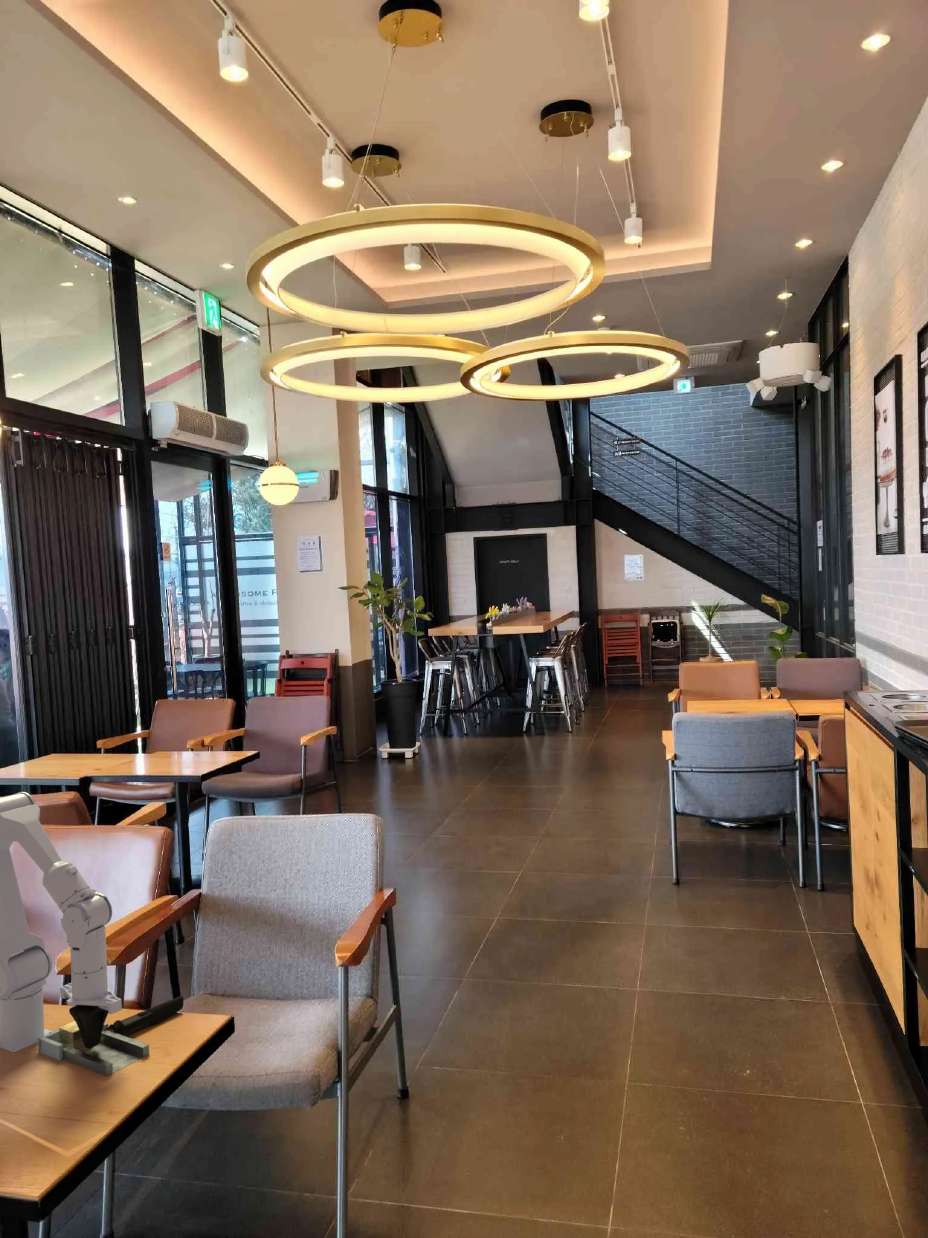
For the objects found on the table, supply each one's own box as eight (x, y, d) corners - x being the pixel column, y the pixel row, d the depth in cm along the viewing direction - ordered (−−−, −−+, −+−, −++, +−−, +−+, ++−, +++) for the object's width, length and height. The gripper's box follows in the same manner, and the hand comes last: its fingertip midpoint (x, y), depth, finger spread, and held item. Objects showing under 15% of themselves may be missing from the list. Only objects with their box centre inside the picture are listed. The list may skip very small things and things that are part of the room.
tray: (39, 1055, 156) (38, 1038, 156) (88, 1032, 164) (87, 1016, 164) (59, 1063, 152) (58, 1046, 152) (108, 1040, 160) (108, 1023, 160)
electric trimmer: (188, 1014, 170) (188, 997, 170) (114, 1045, 158) (114, 1027, 158) (176, 1009, 172) (176, 993, 172) (102, 1040, 160) (102, 1022, 160)
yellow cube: (59, 1047, 157) (58, 1027, 157) (80, 1038, 160) (79, 1018, 160) (73, 1053, 155) (72, 1032, 155) (93, 1043, 158) (93, 1023, 158)
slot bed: (62, 1062, 153) (62, 1049, 153) (105, 1041, 160) (105, 1029, 160) (106, 1079, 146) (106, 1066, 146) (149, 1057, 153) (148, 1045, 153)
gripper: (43, 968, 156) (46, 1046, 156) (94, 984, 148) (97, 1066, 148) (79, 954, 162) (82, 1029, 162) (130, 969, 154) (133, 1047, 154)
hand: (92, 1045), depth 155 cm, fingers closed
